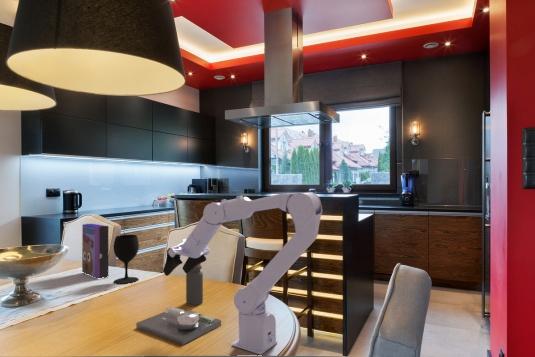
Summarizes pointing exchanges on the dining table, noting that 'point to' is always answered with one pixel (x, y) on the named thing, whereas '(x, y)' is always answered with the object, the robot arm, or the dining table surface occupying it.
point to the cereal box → (95, 250)
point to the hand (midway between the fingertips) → (175, 271)
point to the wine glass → (126, 254)
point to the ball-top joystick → (183, 318)
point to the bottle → (194, 286)
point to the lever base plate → (171, 332)
